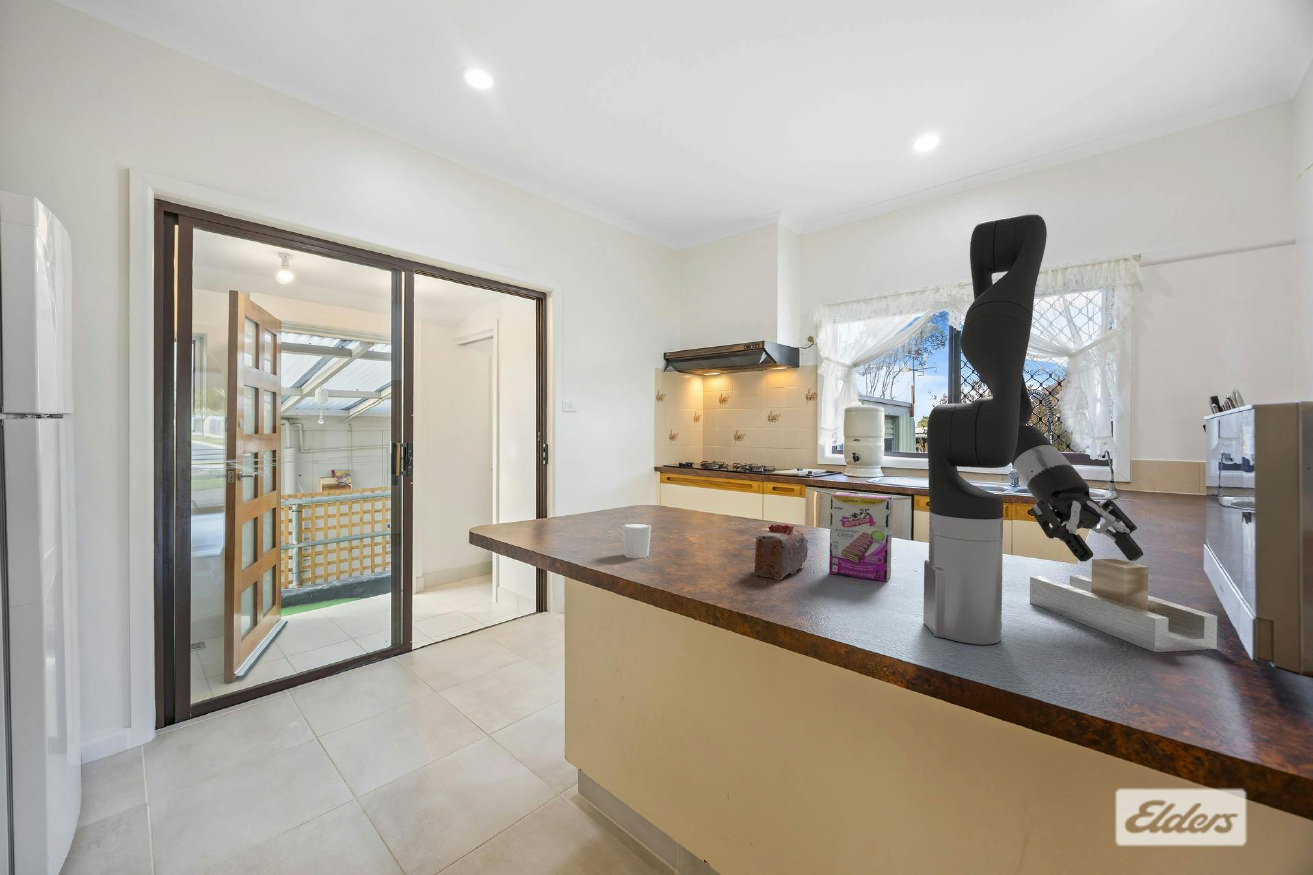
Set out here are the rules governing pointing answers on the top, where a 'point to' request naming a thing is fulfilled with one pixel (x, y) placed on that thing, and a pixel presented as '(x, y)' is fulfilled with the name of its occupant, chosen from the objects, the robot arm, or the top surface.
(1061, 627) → the top surface
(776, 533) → the food item
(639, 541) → the white cylinder
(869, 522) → the candy bar box
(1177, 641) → the rail
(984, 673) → the top surface
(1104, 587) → the oak block
